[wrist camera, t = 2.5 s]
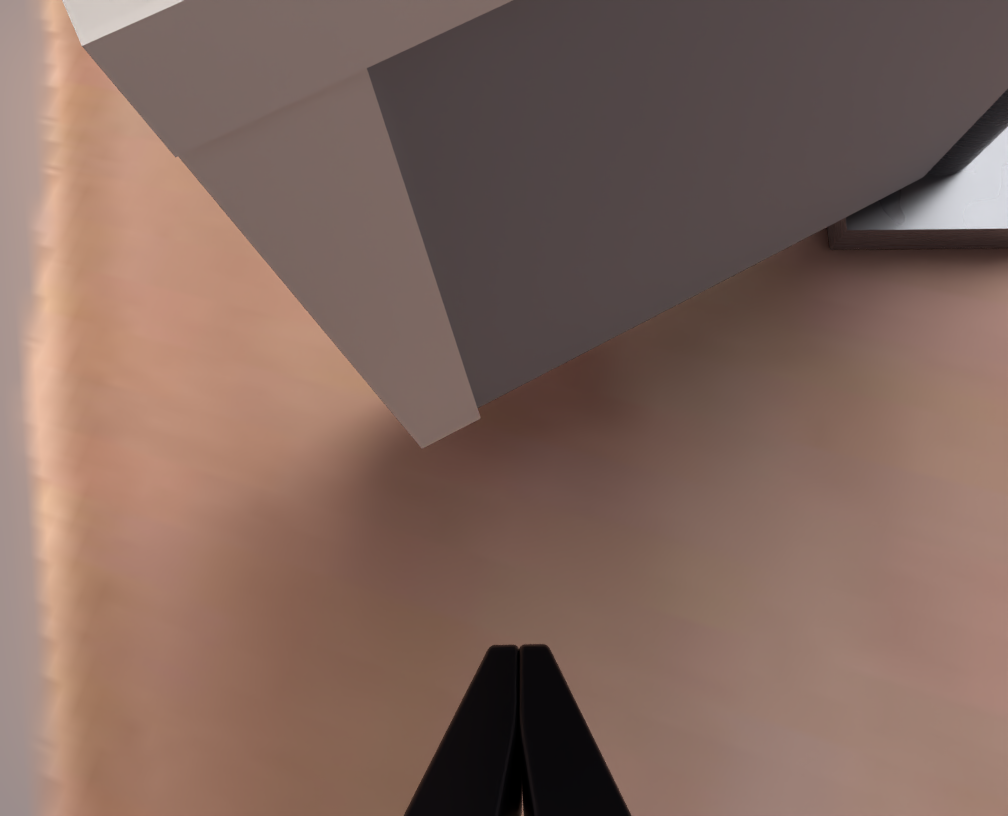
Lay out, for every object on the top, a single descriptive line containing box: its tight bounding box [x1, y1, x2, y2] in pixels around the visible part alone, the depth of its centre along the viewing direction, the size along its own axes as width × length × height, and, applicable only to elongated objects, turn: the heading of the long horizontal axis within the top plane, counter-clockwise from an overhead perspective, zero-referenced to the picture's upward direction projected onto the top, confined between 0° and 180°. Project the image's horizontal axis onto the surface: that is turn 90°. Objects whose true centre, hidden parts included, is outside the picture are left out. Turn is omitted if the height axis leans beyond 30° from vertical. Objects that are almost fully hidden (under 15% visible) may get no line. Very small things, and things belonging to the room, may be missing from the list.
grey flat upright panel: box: [62, 0, 1008, 449], centre depth 12 cm, size 17×3×14 cm, turn 118°
